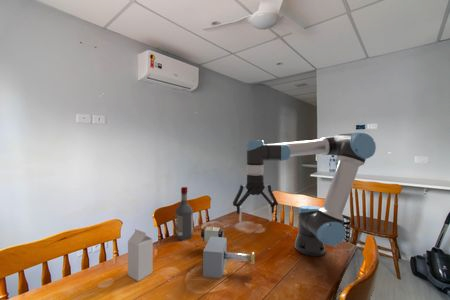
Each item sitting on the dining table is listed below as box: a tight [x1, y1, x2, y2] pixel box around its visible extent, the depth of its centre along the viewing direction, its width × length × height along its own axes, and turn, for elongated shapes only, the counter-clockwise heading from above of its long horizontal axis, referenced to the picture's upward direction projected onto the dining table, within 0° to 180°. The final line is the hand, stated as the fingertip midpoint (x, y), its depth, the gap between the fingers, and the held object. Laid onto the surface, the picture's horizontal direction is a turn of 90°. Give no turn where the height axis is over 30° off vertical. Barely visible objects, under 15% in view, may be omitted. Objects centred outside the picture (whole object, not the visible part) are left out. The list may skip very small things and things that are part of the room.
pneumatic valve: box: [200, 226, 225, 243], centre depth 112 cm, size 6×12×12 cm, turn 79°
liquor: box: [174, 186, 194, 241], centre depth 125 cm, size 9×9×30 cm
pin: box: [224, 251, 256, 265], centre depth 93 cm, size 16×5×5 cm, turn 81°
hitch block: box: [202, 236, 228, 279], centre depth 94 cm, size 8×14×11 cm, turn 171°
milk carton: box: [127, 228, 154, 282], centre depth 89 cm, size 7×7×19 cm
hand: (255, 220), depth 94 cm, fingers open, 13 cm apart
